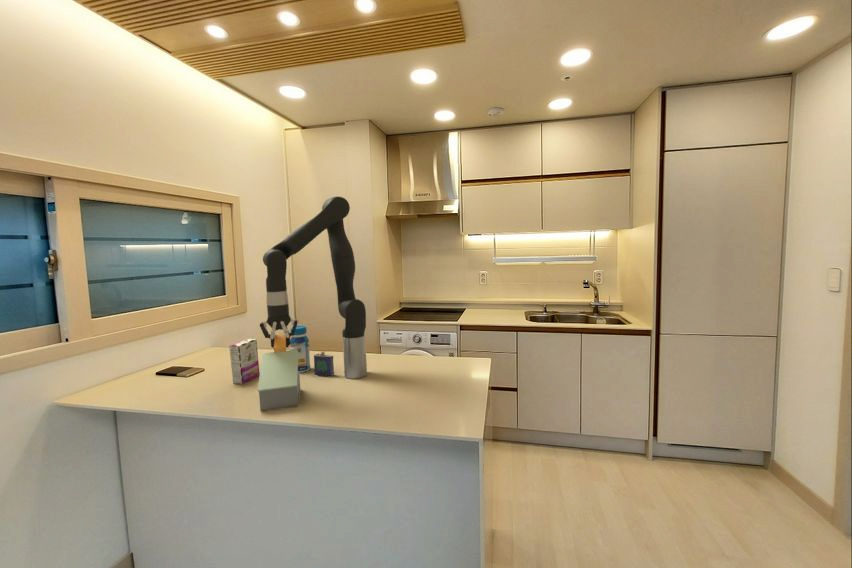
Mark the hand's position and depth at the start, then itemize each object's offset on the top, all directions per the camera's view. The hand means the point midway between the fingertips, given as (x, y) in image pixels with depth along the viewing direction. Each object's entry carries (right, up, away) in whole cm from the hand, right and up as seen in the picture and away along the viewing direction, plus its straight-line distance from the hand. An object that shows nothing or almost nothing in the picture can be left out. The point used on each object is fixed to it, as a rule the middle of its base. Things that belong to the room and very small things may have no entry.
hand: (280, 347), depth 137 cm
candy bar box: (-22, -17, +17) cm, 32 cm away
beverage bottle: (-2, -15, +27) cm, 31 cm away
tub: (+3, -18, -6) cm, 19 cm away
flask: (+11, -16, +19) cm, 27 cm away
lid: (+2, -5, -5) cm, 8 cm away
